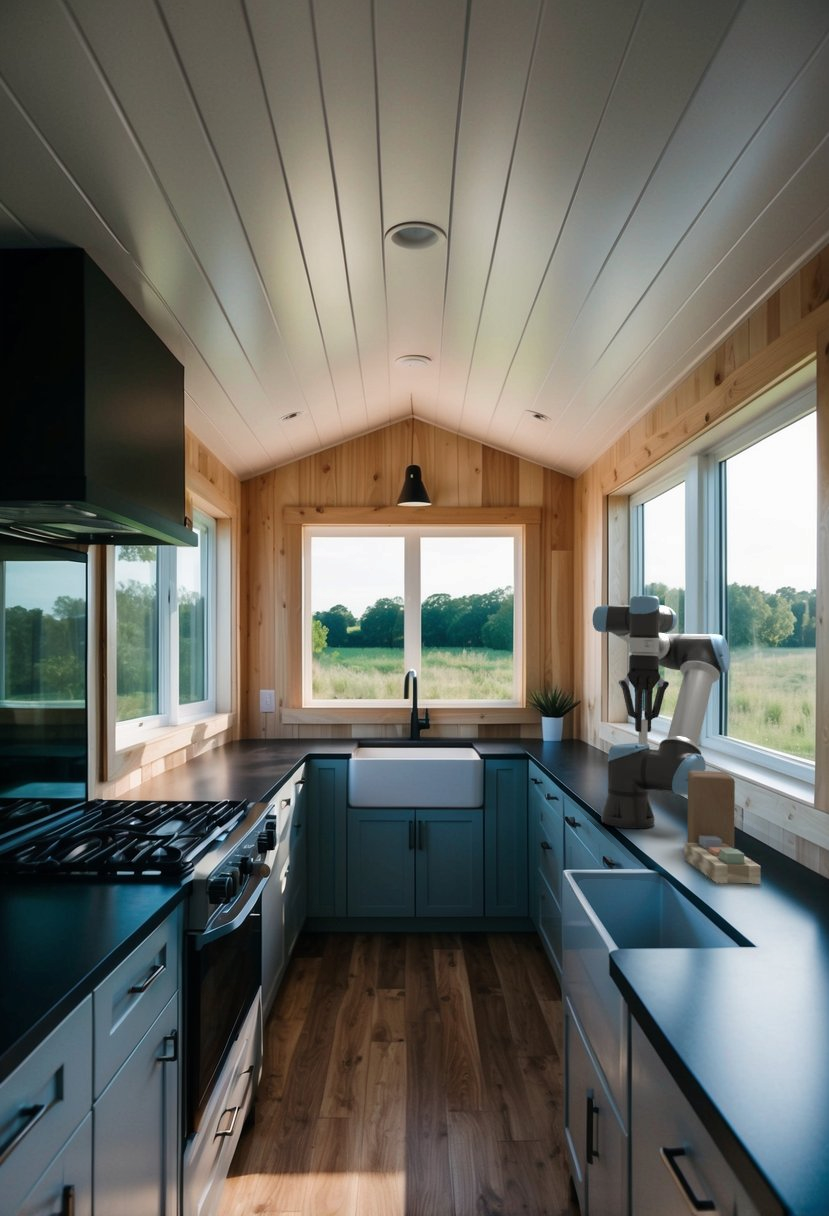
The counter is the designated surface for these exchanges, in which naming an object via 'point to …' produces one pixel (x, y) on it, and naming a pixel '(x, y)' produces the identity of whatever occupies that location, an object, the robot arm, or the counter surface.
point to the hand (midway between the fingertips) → (642, 744)
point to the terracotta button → (715, 850)
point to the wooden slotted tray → (722, 866)
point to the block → (711, 806)
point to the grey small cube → (709, 842)
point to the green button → (731, 856)
